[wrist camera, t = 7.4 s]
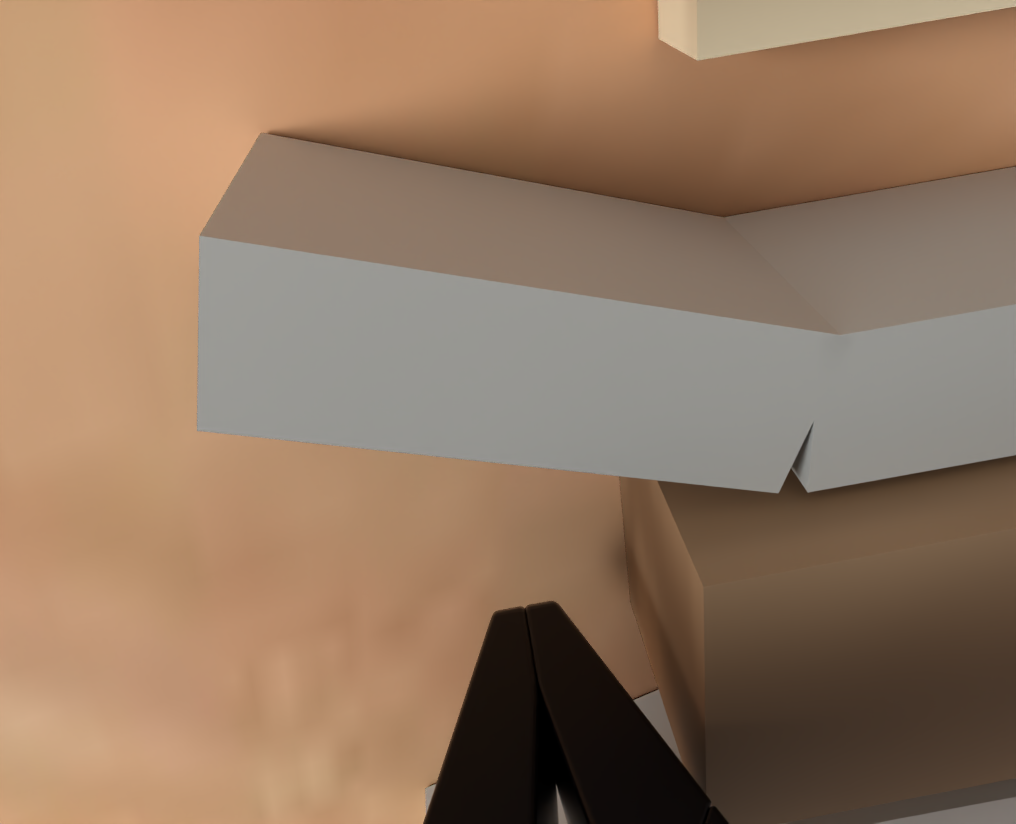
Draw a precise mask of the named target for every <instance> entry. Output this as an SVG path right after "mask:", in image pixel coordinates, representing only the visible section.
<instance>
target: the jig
mask: <svg viewBox="0 0 1016 824" xmlns="http://www.w3.org/2000/svg"><path fill="white" fill-rule="evenodd" d="M197 431H204V432H214V433H223V434H232V435H241V436H251V437H260V438H269V439H279V440H288V441H297V442H306V443H316V444H325V445H334V446H343V447H353V448H362V449H371V450H381V451H390V452H399V453H408V454H418V455H427V456H436V457H446V458H455V459H464V460H473V461H483V462H492V463H501V464H511V465H520V466H529V467H538V468H548V469H557V470H566V471H575V472H585V473H594V474H603V475H613V476H622V477H631V478H640V479H650V480H659V481H668V482H678V483H687V484H696V485H705V486H715V487H724V488H733V489H742V490H752V491H761V492H770V493H779V491H780V489H781V487H782V485H783V483H784V481H785V479H786V477H787V475H788V473H789V471H790V469H792V470H793V472H794V473H795V474H796V476H797V477H798V479H799V480H800V482H801V483H802V485H803V486H804V488H805V489H806V491H807V492H814V491H819V490H825V489H830V488H836V487H841V486H847V485H853V484H858V483H864V482H869V481H875V480H880V479H886V478H891V477H897V476H903V475H908V474H914V473H919V472H925V471H930V470H936V469H941V468H947V467H953V466H958V465H964V464H969V463H975V462H980V461H986V460H992V459H997V458H1003V457H1008V456H1014V455H1016V167H1010V168H1004V169H998V170H993V171H987V172H981V173H975V174H970V175H964V176H958V177H952V178H947V179H941V180H935V181H929V182H924V183H918V184H912V185H906V186H901V187H895V188H889V189H883V190H877V191H872V192H866V193H860V194H854V195H849V196H843V197H837V198H831V199H826V200H820V201H814V202H808V203H803V204H797V205H791V206H785V207H780V208H774V209H768V210H762V211H756V212H751V213H745V214H739V215H733V216H728V217H719V216H714V215H708V214H703V213H697V212H692V211H686V210H681V209H675V208H670V207H664V206H659V205H654V204H648V203H643V202H637V201H632V200H626V199H621V198H615V197H610V196H604V195H599V194H593V193H588V192H582V191H577V190H572V189H566V188H561V187H555V186H550V185H544V184H539V183H533V182H528V181H522V180H517V179H511V178H506V177H500V176H495V175H490V174H484V173H479V172H473V171H468V170H462V169H457V168H451V167H446V166H440V165H435V164H429V163H424V162H419V161H413V160H408V159H402V158H397V157H391V156H386V155H380V154H375V153H369V152H364V151H358V150H353V149H347V148H342V147H337V146H331V145H326V144H320V143H315V142H309V141H304V140H298V139H293V138H287V137H282V136H276V135H271V134H265V133H260V135H259V137H258V138H257V140H256V142H255V143H254V145H253V147H252V148H251V150H250V152H249V153H248V155H247V157H246V158H245V160H244V162H243V163H242V165H241V167H240V168H239V170H238V172H237V174H236V175H235V177H234V179H233V180H232V182H231V184H230V185H229V187H228V189H227V190H226V192H225V194H224V195H223V197H222V199H221V200H220V202H219V204H218V205H217V207H216V209H215V210H214V212H213V214H212V215H211V217H210V219H209V221H208V222H207V224H206V226H205V227H204V229H203V231H202V232H201V234H200V236H199V313H198V394H197ZM633 701H634V702H635V703H636V704H637V706H638V707H639V708H640V710H641V711H642V712H643V713H644V715H645V716H646V717H647V719H648V720H649V721H650V722H651V724H652V725H653V726H654V728H655V729H656V730H657V731H658V733H659V734H660V735H661V737H662V738H663V739H664V740H665V742H666V743H667V744H668V746H669V747H670V748H671V750H672V751H673V752H674V753H675V755H676V756H677V757H678V759H679V760H680V761H681V762H682V760H681V757H680V754H679V751H678V747H677V744H676V741H675V738H674V735H673V732H672V729H671V726H670V723H669V720H668V717H667V714H666V710H665V707H664V704H663V701H662V698H661V695H660V692H659V690H656V691H654V692H651V693H649V694H647V695H644V696H642V697H640V698H637V699H635V700H633ZM682 764H683V763H682ZM435 786H436V784H434V785H432V786H430V787H427V788H425V794H426V813H427V810H428V807H429V804H430V801H431V798H432V795H433V792H434V789H435ZM556 789H557V786H556ZM557 801H558V819H559V824H567V820H566V817H565V814H564V810H563V807H562V804H561V800H560V797H559V793H558V789H557ZM782 824H1016V778H1014V779H1009V780H1004V781H999V782H994V783H988V784H983V785H978V786H973V787H968V788H963V789H957V790H952V791H947V792H942V793H937V794H932V795H926V796H921V797H916V798H911V799H906V800H901V801H895V802H890V803H885V804H880V805H875V806H870V807H864V808H859V809H854V810H849V811H844V812H838V813H833V814H828V815H823V816H818V817H813V818H807V819H802V820H797V821H792V822H787V823H782Z"/></svg>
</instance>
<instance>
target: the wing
mask: <svg viewBox="0 0 1016 824" xmlns="http://www.w3.org/2000/svg"><path fill="white" fill-rule="evenodd" d="M1010 7H1016V0H658V30H659V39H660V40H661V41H663V42H665V43H667V44H668V45H670V46H672V47H674V48H676V49H677V50H679V51H681V52H683V53H684V54H686V55H688V56H690V57H692V58H693V59H695V60H697V61H698V60H704V59H710V58H716V57H722V56H728V55H734V54H740V53H745V52H751V51H757V50H763V49H769V48H775V47H781V46H787V45H793V44H798V43H804V42H810V41H816V40H822V39H828V38H834V37H840V36H845V35H851V34H857V33H863V32H869V31H875V30H881V29H887V28H892V27H898V26H904V25H910V24H916V23H922V22H928V21H934V20H940V19H945V18H951V17H957V16H963V15H969V14H975V13H981V12H987V11H992V10H998V9H1004V8H1010Z"/></svg>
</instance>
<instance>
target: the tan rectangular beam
mask: <svg viewBox="0 0 1016 824" xmlns="http://www.w3.org/2000/svg"><path fill="white" fill-rule="evenodd" d="M619 480H620V491H621V503H622V514H623V526H624V537H625V548H626V560H627V571H628V583H629V594H630V602H631V605H632V609H633V612H634V615H635V618H636V621H637V624H638V627H639V630H640V633H641V636H642V639H643V642H644V646H645V649H646V652H647V655H648V658H649V661H650V664H651V667H652V670H653V673H654V676H655V680H656V683H657V686H658V689H659V692H660V695H661V698H662V701H663V704H664V707H665V710H666V714H667V717H668V720H669V723H670V726H671V729H672V732H673V735H674V738H675V741H676V744H677V747H678V751H679V754H680V757H681V760H682V763H683V765H684V766H685V768H686V769H687V770H688V771H689V773H690V774H691V775H692V777H693V778H694V779H695V780H696V782H697V783H698V784H699V786H700V787H701V788H702V789H703V791H704V792H705V793H706V795H707V796H708V797H709V798H710V800H711V802H712V806H715V807H717V808H718V810H719V811H720V812H721V813H722V815H723V816H724V817H725V819H726V820H727V821H728V822H729V824H782V823H787V822H792V821H797V820H802V819H807V818H813V817H818V816H823V815H828V814H833V813H838V812H844V811H849V810H854V809H859V808H864V807H870V806H875V805H880V804H885V803H890V802H895V801H901V800H906V799H911V798H916V797H921V796H926V795H932V794H937V793H942V792H947V791H952V790H957V789H963V788H968V787H973V786H978V785H983V784H988V783H994V782H999V781H1004V780H1009V779H1014V778H1016V455H1014V456H1008V457H1003V458H997V459H992V460H986V461H980V462H975V463H969V464H964V465H958V466H953V467H947V468H941V469H936V470H930V471H925V472H919V473H914V474H908V475H903V476H897V477H891V478H886V479H880V480H875V481H869V482H864V483H858V484H853V485H847V486H841V487H836V488H830V489H825V490H819V491H814V492H807V491H806V489H805V488H804V486H803V485H802V483H801V482H800V480H799V479H798V477H797V476H796V474H795V473H794V472H793V470H792V469H790V471H789V473H788V475H787V477H786V479H785V481H784V483H783V485H782V487H781V489H780V491H779V493H770V492H761V491H752V490H742V489H733V488H724V487H715V486H705V485H696V484H687V483H678V482H668V481H659V480H650V479H640V478H631V477H622V476H619Z"/></svg>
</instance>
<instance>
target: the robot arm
mask: <svg viewBox="0 0 1016 824" xmlns="http://www.w3.org/2000/svg"><path fill="white" fill-rule="evenodd" d="M556 786H557V789H558V793H559V797H560V800H561V804H562V807H563V810H564V814H565V817H566V820H567V824H729V822H728V821H727V820H726V819H725V817H724V816H723V815H722V813H721V812H720V811H719V810H718V808H717V807H715V806H712V802H711V800H710V798H709V797H708V796H707V795H706V793H705V792H704V791H703V789H702V788H701V787H700V786H699V784H698V783H697V782H696V780H695V779H694V778H693V777H692V775H691V774H690V773H689V771H688V770H687V769H686V768H685V766H684V765H683V764H682V762H681V761H680V760H679V759H678V757H677V756H676V755H675V753H674V752H673V751H672V750H671V748H670V747H669V746H668V744H667V743H666V742H665V740H664V739H663V738H662V737H661V735H660V734H659V733H658V731H657V730H656V729H655V728H654V726H653V725H652V724H651V722H650V721H649V720H648V719H647V717H646V716H645V715H644V713H643V712H642V711H641V710H640V708H639V707H638V706H637V704H636V703H635V702H634V701H633V699H632V698H631V697H630V695H629V694H628V693H627V692H626V690H625V689H624V688H623V686H622V685H621V684H620V683H619V681H618V680H617V679H616V677H615V676H614V675H613V674H612V672H611V671H610V670H609V668H608V667H607V666H606V664H605V663H604V662H603V661H602V659H601V658H600V657H599V655H598V654H597V653H596V652H595V650H594V649H593V648H592V646H591V645H590V644H589V643H588V641H587V640H586V639H585V637H584V636H583V635H582V634H581V632H580V631H579V630H578V628H577V627H576V626H575V625H574V623H573V622H572V621H571V619H570V618H569V617H568V616H567V614H566V613H565V612H564V610H563V609H562V608H561V607H560V605H559V604H558V603H556V602H555V601H547V602H542V603H536V604H531V605H528V606H527V607H526V608H523V607H514V608H509V609H503V610H498V611H496V612H495V613H494V614H493V616H492V617H491V620H490V623H489V626H488V629H487V632H486V635H485V638H484V641H483V644H482V647H481V650H480V653H479V656H478V659H477V662H476V665H475V668H474V671H473V675H472V678H471V681H470V684H469V687H468V690H467V693H466V696H465V699H464V702H463V705H462V708H461V711H460V714H459V717H458V720H457V723H456V726H455V729H454V732H453V735H452V738H451V741H450V744H449V747H448V750H447V753H446V756H445V759H444V762H443V765H442V768H441V771H440V774H439V777H438V780H437V783H436V786H435V789H434V792H433V795H432V798H431V801H430V804H429V807H428V810H427V813H426V816H425V819H424V822H423V824H559V819H558V801H557V789H556Z"/></svg>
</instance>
